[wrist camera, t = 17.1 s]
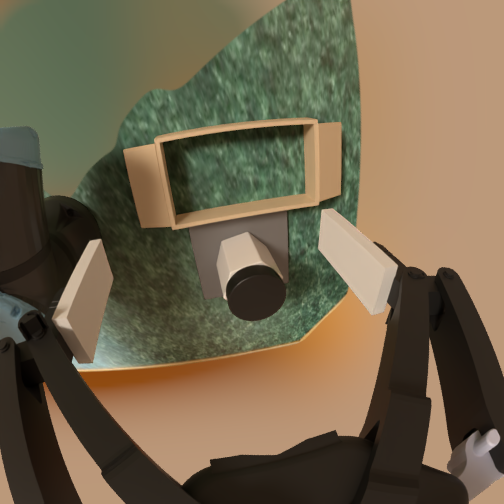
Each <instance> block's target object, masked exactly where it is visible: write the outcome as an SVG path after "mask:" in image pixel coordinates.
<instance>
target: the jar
mask: <svg viewBox="0 0 504 504" xmlns="http://www.w3.org/2000/svg"><path fill="white" fill-rule="evenodd" d="M216 265H217V269H218V274H219V279H220V283H221V288H222V292H223V297H224V299H226V300H227V302H228V306H229V309H230V310H231V312H232V313H233V314H234V315H235V316H236V317H238V318H240V319H243V320H247V321H257V320H262V319H265V318H267V317H269V316H271V315H273V314H274V313H276V312H277V311H278V310H279V309H280V308H281V306H282V305H283V303H284V301H285V298H286V288H285V285H284V283H283V280H282V279H283V276H282V274H281V272H280V270H279V268H278V267H277V265H276V263H275V261H274V259H273V257H272V256H271V254H270V252H269V250H268V248H267V246H265V245H264V244H263V243H262V242H260V241H259V240H258V239H257V238H255V237H254V236H253V235H252V234H250V233H249V232H245V233H242V234H240V235H237V236H234V237H231V238H228V239H225V240H223V241H221V246H220V250H219V255H218V259H217V264H216Z"/></svg>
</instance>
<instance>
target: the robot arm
mask: <svg viewBox="0 0 504 504" xmlns="http://www.w3.org/2000/svg"><path fill="white" fill-rule="evenodd" d="M42 169H43V164H42V163H41V158H40V144H39V137H38V134H37V132H36V131H35V130H34V129H33V128H31V127H28V126H16V127H4V128H0V449H1V455H2V460H3V464H4V468H5V473H6V476H7V481H8V484H9V488H10V491H11V494H12V497H13V501H14V504H82V502H81V500H80V498H79V496H78V493H77V491H76V489H75V487H74V484H73V482H72V480H71V477H70V475H69V472H68V470H67V467H66V465H65V462H64V459H63V457H62V454H61V451H60V448H59V445H58V442H57V439H56V435H55V432H54V428H53V425H52V422H51V418H50V414H49V410H48V406H47V401H46V397H45V392H44V387H43V382H45V383H46V385H47V387H48V389H49V391H50V392H51V394H52V396H53V398H54V400H55V402H56V403H57V405H58V407H59V409H60V410H61V412H62V414H63V415H64V417H65V419H66V420H67V422H68V423H69V425H70V427H71V428H72V430H73V431H74V433H75V434H76V436H77V437H78V439H79V440H80V442H81V443H82V445H83V446H84V447H85V449H86V450H87V452H88V453H89V454H90V456H91V457H92V458H93V459H94V461H95V462H96V464H97V465H98V466H99V467H100V469H101V470H102V473H101V474H102V476H103V478H104V479H105V481H106V482H107V483H108V484H109V486H110V487H111V488H112V489H113V490H114V491H115V492H116V494H117V495H118V496H119V497H120V498H121V499H122V500H123V501H124V502H125V503H126V504H469V501H470V500H472V499H473V498H475V497H476V496H477V495H479V494H480V493H481V492H483V491H484V490H485V489H486V488H488V487H489V486H490V485H491V484H492V483H494V482H495V481H497V480H498V479H500V478H502V477H503V476H504V377H503V374H502V371H501V368H500V365H499V362H498V360H497V357H496V354H495V351H494V349H493V346H492V344H491V341H490V339H489V336H488V334H487V332H486V329H485V327H484V325H483V323H482V321H481V318H480V316H479V314H478V312H477V310H476V308H475V305H474V303H473V301H472V299H471V297H470V295H469V294H468V292H467V290H466V288H465V286H464V284H463V282H462V280H461V279H460V277H459V275H458V274H457V273H456V272H455V271H454V270H453V269H450V268H445V267H444V268H443V267H442V268H439V269H438V272H437V275H436V276H427V275H426V274H425V273H424V272H423V271H422V270H420V269H418V268H416V267H406V266H405V265H404V264H403V263H401V262H400V261H399V260H398V259H397V258H396V257H395V256H393V255H392V254H391V253H390V252H388V250H387V249H386V248H385V247H384V246H382V245H380V244H378V243H376V242H372V241H371V240H369V239H368V238H367V237H366V236H365V235H364V234H363V233H361V232H360V231H359V230H358V229H357V228H356V227H354V226H353V225H352V224H351V223H350V222H348V221H347V220H346V219H345V218H344V217H342V216H341V215H340V214H339V213H338V212H336V211H335V210H334V209H322V212H321V225H320V236H319V247H318V249H319V250H320V252H321V253H322V254H323V255H324V256H325V258H326V259H327V260H328V261H329V262H330V264H331V265H332V266H333V267H334V268H335V270H336V271H337V272H338V273H339V275H340V276H341V277H342V278H343V280H344V281H345V282H346V283H347V285H348V286H349V287H350V288H351V289H352V291H353V292H354V293H355V295H356V296H357V297H358V298H359V299H360V301H361V302H362V304H363V305H364V306H365V307H366V309H367V310H368V311H369V313H370V314H371V315H375V314H379V313H382V312H384V310H385V307H386V304H387V303H388V304H389V305H390V306H391V310H390V312H389V315H388V318H387V321H386V324H388V325H387V331H386V337H385V342H384V347H383V352H382V357H381V362H380V367H379V371H378V376H377V380H376V384H375V388H374V392H373V396H372V399H371V404H370V407H369V411H368V414H367V417H366V420H365V424H364V426H363V428H362V431H361V433H360V435H359V437H354V436H338V435H337V432H336V430H334V431H331V432H328V433H326V434H322V435H319V436H316V437H313V438H309V439H307V440H305V441H303V442H301V443H299V444H298V445H296V446H294V447H292V448H290V449H288V450H286V451H284V452H282V453H281V454H278V455H238V456H232V457H225V458H219V459H211V460H210V464H211V466H210V467H207V468H204V469H203V470H200V471H199V472H197V473H196V474H194V475H192V476H191V477H190V478H189V479H188V480H187V481H186V482H185V483H184V484H183V485H180V484H179V483H178V482H177V481H175V480H174V479H173V478H172V477H171V476H170V475H169V474H167V473H166V472H165V471H164V470H163V469H161V467H160V466H158V465H157V464H156V463H155V462H154V461H153V460H152V459H151V458H150V457H149V456H148V455H147V454H146V453H145V452H144V451H143V450H142V449H141V448H140V447H139V446H138V445H137V444H136V443H135V442H134V441H133V440H132V439H131V438H130V436H129V435H128V434H127V433H126V432H125V431H124V430H123V429H122V428H121V426H120V425H119V424H118V423H117V422H116V421H115V420H114V418H113V417H112V416H111V415H110V414H109V412H108V411H107V410H106V409H105V408H104V406H103V405H102V404H101V402H100V401H99V400H98V399H97V397H96V396H95V395H94V393H93V392H92V391H91V389H90V388H89V387H88V385H87V384H86V382H85V381H84V380H83V378H82V377H81V375H80V374H79V372H78V371H77V369H76V368H75V366H74V365H73V364H72V359H73V356H74V357H75V359H76V360H77V362H78V363H79V364H81V363H93V359H94V354H95V350H96V345H97V340H98V336H99V331H100V327H101V323H102V319H103V315H104V311H105V307H106V304H107V300H108V296H109V293H110V289H111V286H112V282H113V279H114V278H113V275H112V272H111V269H110V266H109V263H108V260H107V257H106V253H105V250H104V247H103V243H102V240H101V234H100V230H99V227H98V225H97V222H96V220H95V219H94V217H93V216H92V214H91V213H90V212H89V211H88V209H87V208H86V207H84V206H83V205H82V204H81V203H79V202H78V201H76V200H74V199H72V198H69V197H66V196H50V197H47V198H44V191H43V180H42ZM429 337H430V340H431V345H432V349H433V353H434V357H435V361H436V365H437V370H438V375H439V380H440V385H441V390H442V396H443V402H444V407H445V414H446V422H447V430H448V436H449V441H450V445H451V448H452V454H451V460H450V461H449V462H448V464H447V469H448V471H449V472H450V473H451V474H449V473H446V472H443V471H440V470H437V469H435V468H432V467H429V466H427V465H424V464H422V461H423V456H424V451H425V446H426V439H427V433H428V428H429V421H430V413H431V399H430V398H428V397H426V387H427V376H428V360H429Z"/></svg>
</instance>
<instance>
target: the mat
mask: <svg viewBox="0 0 504 504" xmlns="http://www.w3.org/2000/svg"><path fill="white" fill-rule="evenodd" d="M188 228H189V233H190V238H191V242H192V247H193V252H194V256H195V261H196V265H197V269H198V274H199V278H200V282H201V286H202V291H203V295H204V299H205V300H206V299H211V298H216V297H221V296H223V292H222V288H221V283H220V279H219V274H218V269H217V265H216V264H217V259H218V255H219V250H220V246H221V241H223V240H225V239H228V238H231V237H234V236H237V235H240V234H242V233H245V232H249V233H250V234H252V235H253V236H254V237H255V238H257V239H258V240H259V241H260V242H262V243H263V244H264V245H265V246H267V248H268V250H269V252H270V254H271V256H272V257H273V259H274V261H275V263H276V265H277V267H278V268H279V270H280V272H281V274H282V276H283V279H282V280H283V283H289V276H288V229H287V210H283V211H277V212H271V213H265V214H259V215H253V216H247V217H241V218H235V219H230V220H224V221H218V222H213V223H207V224H202V225H197V226H191V227H188Z"/></svg>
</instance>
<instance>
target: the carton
mask: <svg viewBox="0 0 504 504" xmlns="http://www.w3.org/2000/svg"><path fill="white" fill-rule="evenodd" d="M299 124H303V128H304V153H305V194H299V195H292V196H285V197H278V198H271V199H265V200H258V201H252V202H246V203H240V204H234V205H228V206H222V207H216V208H211V209H205V210H200V211H194V212H189V213H184V214H179V215H176V211H175V207H174V202H173V197H172V192H171V187H170V181H169V176H168V171H167V165H166V160H165V154H164V148H163V142H165V141H170V140H175V139H180V138H186V137H192V136H197V135H204V134H210V133H217V132H224V131H232V130H240V129H249V128H258V127H269V126H282V125H299ZM154 141H155V144H150V145H144V146H139V147H134V148H129V149H124V150H123V152H124V157H125V162H126V166H127V171H128V175H129V180H130V184H131V189H132V193H133V197H134V201H135V205H136V209H137V213H138V217H139V220H140V224H141V228H154V227H172V230H176V229H181V228H186V227H191V226H197V225H202V224H207V223H213V222H218V221H224V220H230V219H235V218H241V217H247V216H253V215H259V214H265V213H271V212H277V211H283V210H290V209H296V208H303V207H309V206H316V205H319V202H320V201H323V200H326V199H329V198H332V197H335V196H338V195H341V122H333V123H320V124H318V120H317V119H312V118H287V119H272V120H260V121H249V122H240V123H231V124H224V125H216V126H209V127H203V128H197V129H191V130H185V131H179V132H174V133H169V134H164V135H159V136H157V137H156V138H155V139H154Z"/></svg>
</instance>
